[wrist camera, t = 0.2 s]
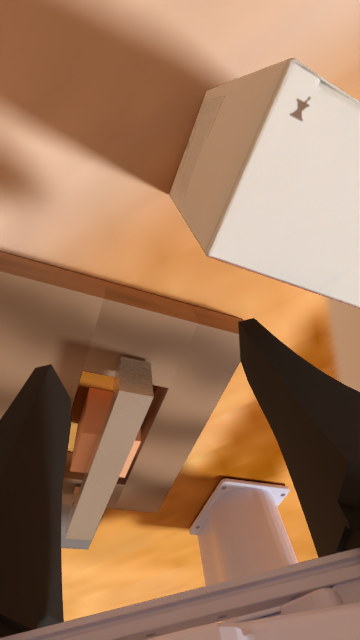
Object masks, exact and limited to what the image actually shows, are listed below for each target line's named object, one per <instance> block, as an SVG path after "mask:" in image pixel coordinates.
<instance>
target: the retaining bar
mask: <svg viewBox="0 0 360 640" xmlns="http://www.w3.org/2000/svg"><path fill="white" fill-rule="evenodd" d="M153 397H154V395H153V383H152V371H151V363H150V362H145V361H140V360H136V359H131V358H127V357H122V356H121V357H120V360H119V363H118V366H117V369H116V371H115V375H114V391H113V397H112V400H111V403H110V406H109V408H108V411H107V414H106V417H105V419H104V422H103V425H102V428H101V431H100V433H99V436H98V439H97V442H96V444H95V447H94V450H93V453H92V456H91V458H90V461H89V464H88V467H87V469H86V472H85V475H84V478H83V481H82V483H81V486H80V487H75V489H74V492H73V495H72V497H71V503H70V510H69V516H68V522H67V529H66V535H65V539H81V540H92V538H93V536H94V534H95V531H96V529H97V527H98V525H99V522H100V520H101V518H102V515H103V513H104V511H105V508H106V506H107V504H108V501H109V499H110V497H111V494H112V492H113V490H114V488H115V485H116V483H117V481H118V478H119V476H120V474H121V471H122V469H123V467H124V464H125V462H126V460H127V457H128V455H129V453H130V451H131V448H132V446H133V444H134V441H135V439H136V437H137V434H138V432H139V430H140V427H141V425H142V423H143V421H144V418H145V416H146V414H147V411H148V409H149V407H150V404H151V402H152V400H153Z"/></svg>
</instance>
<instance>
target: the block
mask: <svg viewBox="0 0 360 640" xmlns="http://www.w3.org/2000/svg"><path fill="white" fill-rule="evenodd" d="M112 397H113V392H112V391H107V390H101V389H96V388H91V387H89V391H88V394H87V397H86V400H85V403H84V407H83V410H82V413H81V416H80V419H79V422H78V428H77V433H76V439H75V445H74V451H73V456H72V462H71V468H70V471H72V472H80V473H85V472H86V469H87V467H88V464H89V461H90V458H91V456H92V453H93V450H94V447H95V444H96V442H97V439H98V436H99V433H100V431H101V428H102V425H103V422H104V419H105V417H106V414H107V411H108V408H109V406H110V403H111V400H112ZM140 443H141V427H140V430H139V432H138V434H137V437H136V439H135V441H134V444H133V446H132V448H131V451H130V453H129V455H128V457H127V460H126V462H125V464H124V467H123V469H122V471H121V474H120V476H119V477H123V478H125V476H126V474H127V472H128V470H129V467H130V465H131V463H132V461H133V458H134V456H135V454H136V452H137V449H138V447H139V445H140Z"/></svg>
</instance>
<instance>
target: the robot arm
mask: <svg viewBox="0 0 360 640" xmlns="http://www.w3.org/2000/svg"><path fill="white" fill-rule="evenodd" d="M238 328H239V345H240V360H241V363H242V366H243V368H244V371H245V374H246V377H247V380H248V382H249V384H250V386H251V388H252V390H253V393H254V395H255V397H256V399H257V401H258V403H259V405H260V407H261V409H262V411H263V413H264V415H265V417H266V418H267V420H268V422H269V424H270V426H271V428H272V430H273V433H274V435H275V437H276V439H277V442H278V444H279V447H280V449H281V452H282V455H283V457H284V460H285V463H286V465H287V468H288V471H289V473H290V476H291V479H292V481H293V484H294V487H295V490H296V492H297V495H298V498H299V501H300V504H301V507H302V510H303V512H304V515H305V518H306V521H307V524H308V527H309V530H310V533H311V536H312V539H313V542H314V545H315V548H316V551H317V554H318V557H319V558H316V559H312V560H308V561H304V562H300V563H298V561H297V558H296V556H295V553H294V550H293V548H292V545H291V542H290V540H289V537H288V535H287V532H286V529H285V527H284V524H283V521H282V519H281V516H280V513H279V511H278V508H277V507H278V505H279V504H280V503H281V502H282V500H283V499H284V498H285V497H286V496H287V494H288V493H289V491H290V490H289V488H288V487H287V486H282V485H274V484H266V483H258V482H251V481H243V480H235V479H227V478H225V479H222V480H221V481H220V483H219V484H218V486H217V487H216V489H215V490H214V492H213V493H212V495H211V497H210V498H209V500H208V501H207V503H206V504H205V506H204V507H203V509H202V510H201V512H200V514H199V515H198V517H197V518H196V520H195V521H194V523H193V524H192V526H191V527H190V529H189V531H190V534H192V535H198V541H199V547H200V553H201V560H202V566H203V572H204V578H205V584H206V586H205V587H201V588H197V589H193V590H189V591H185V592H181V593H177V594H173V595H169V596H165V597H161V598H157V599H153V600H149V601H145V602H142V603H138V604H134V605H130V606H126V607H122V608H118V609H114V610H110V611H106V612H102V613H98V614H94V615H90V616H86V617H82V618H78V619H74V620H70V621H66V622H64V619H63V600H62V573H61V514H62V489H63V479H64V472H65V465H66V457H67V450H68V443H69V435H70V427H71V398H70V396H69V394H68V393H67V391H66V389H65V387H64V386H63V384H62V382H61V380H60V378H59V377H58V375H57V373H56V371H55V370H54V368H53V366H52V364H50V365H45V366H41V367H36V368H35V369H34V370H33V372H32V373H31V375H30V376H29V378H28V379H27V381H26V382H25V384H24V385H23V387H22V388H21V390H20V392H19V393H18V395H17V396H16V398H15V399H14V401H13V402H12V403H11V405H10V406H9V408H8V409H7V411H6V412H5V414H4V415H3V416H2V418H1V419H0V640H360V392H358V391H356V390H354V389H352V388H350V387H348V386H346V385H344V384H342V383H341V382H339V381H337V380H335V379H334V378H332V377H330V376H329V375H327V374H325V373H324V372H322V371H321V370H319V369H317V368H316V367H314V366H313V365H311V364H310V363H309V362H307V361H306V360H304V359H303V358H302V357H300V356H299V355H297V354H296V353H295V352H293V351H292V350H291V349H290V348H288V347H287V346H286V345H285V344H283V343H282V342H281V341H280V340H278V339H277V338H276V337H275V336H274V335H273V334H271V333H270V332H269V331H268V330H267V329H266V328H265V327H263V326H262V325H261V324H260V323H259V322H258V321H257V320H255V319H254V318H253V319H248V320H244V321H239V322H238ZM219 621H223V622H221V623H215V622H219ZM212 623H213V624H212Z"/></svg>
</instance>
